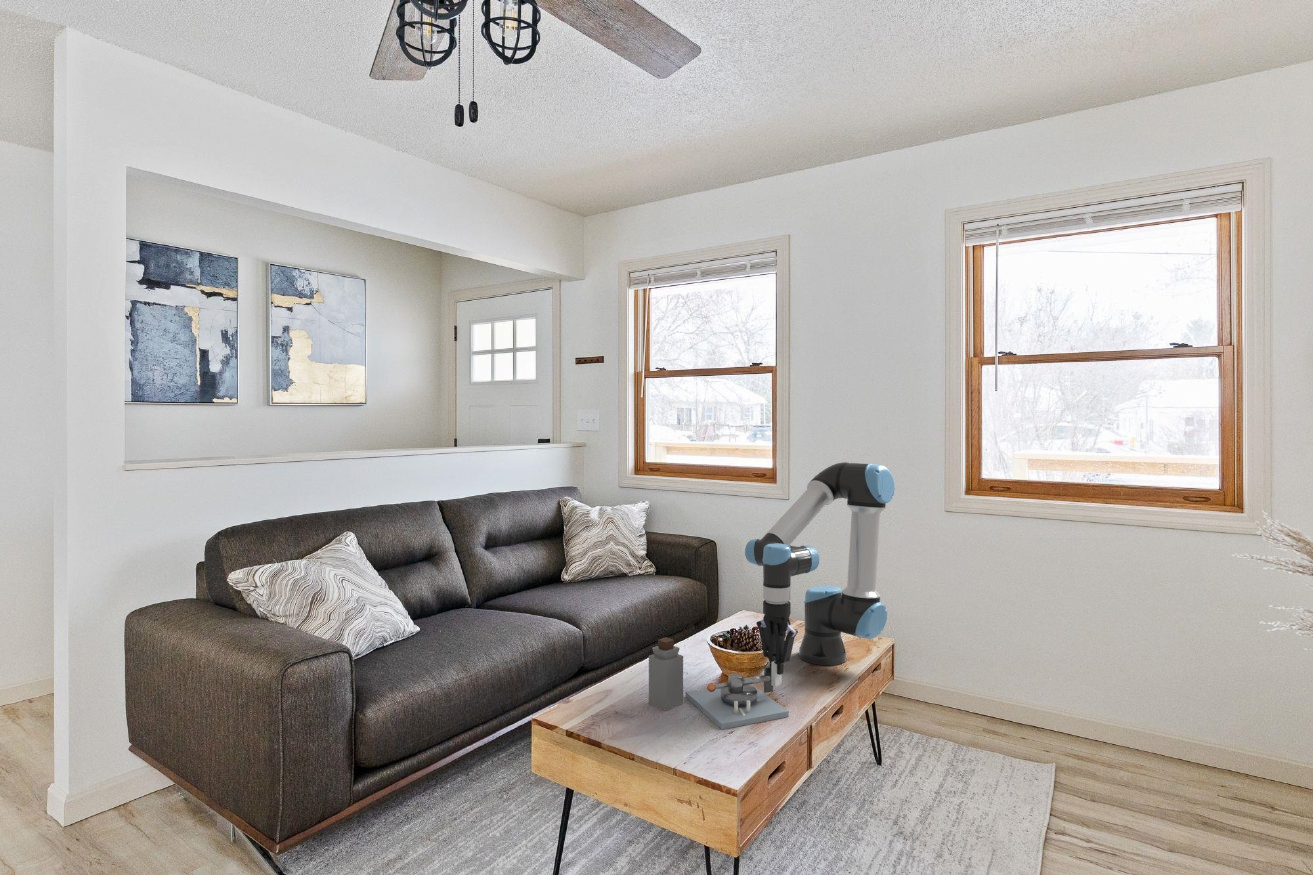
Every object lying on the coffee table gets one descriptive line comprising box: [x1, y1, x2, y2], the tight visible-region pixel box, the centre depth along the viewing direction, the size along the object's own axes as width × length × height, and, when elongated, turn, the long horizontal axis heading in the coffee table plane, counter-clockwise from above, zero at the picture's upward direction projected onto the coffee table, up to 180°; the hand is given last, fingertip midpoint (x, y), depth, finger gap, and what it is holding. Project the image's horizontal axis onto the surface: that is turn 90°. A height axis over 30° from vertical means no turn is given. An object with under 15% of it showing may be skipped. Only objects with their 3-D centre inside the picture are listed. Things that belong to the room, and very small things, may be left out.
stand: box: [685, 684, 790, 730], centre depth 193 cm, size 20×22×4 cm
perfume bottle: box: [648, 636, 684, 712], centre depth 195 cm, size 7×7×18 cm
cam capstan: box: [706, 665, 774, 706], centre depth 194 cm, size 20×10×7 cm, turn 113°
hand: (776, 684), depth 195 cm, fingers closed
